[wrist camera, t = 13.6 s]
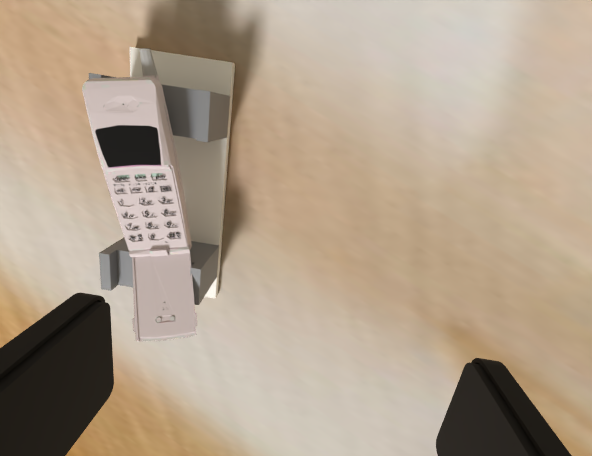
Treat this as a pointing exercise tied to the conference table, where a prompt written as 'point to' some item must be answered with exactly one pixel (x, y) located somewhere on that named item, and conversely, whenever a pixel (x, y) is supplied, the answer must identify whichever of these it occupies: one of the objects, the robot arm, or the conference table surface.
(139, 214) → the mobile phone
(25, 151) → the conference table surface
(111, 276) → the cradle stand
